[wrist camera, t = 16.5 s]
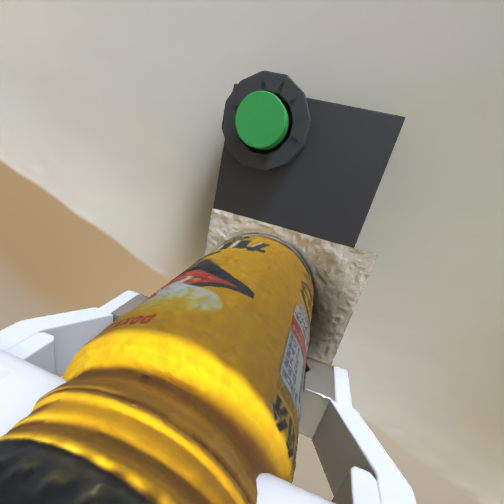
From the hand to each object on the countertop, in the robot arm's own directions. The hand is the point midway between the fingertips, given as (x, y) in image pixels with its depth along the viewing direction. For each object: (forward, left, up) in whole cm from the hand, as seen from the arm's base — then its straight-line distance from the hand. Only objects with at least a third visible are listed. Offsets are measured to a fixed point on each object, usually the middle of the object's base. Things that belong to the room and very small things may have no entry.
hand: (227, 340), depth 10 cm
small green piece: (-9, -4, -13) cm, 16 cm away
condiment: (0, +1, -5) cm, 5 cm away
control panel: (-4, -1, -18) cm, 19 cm away
